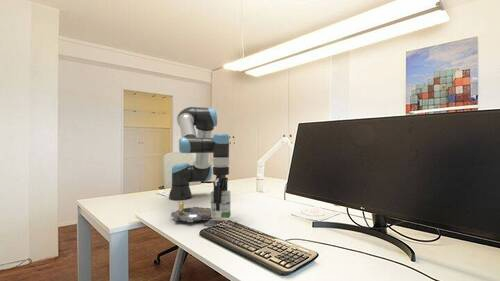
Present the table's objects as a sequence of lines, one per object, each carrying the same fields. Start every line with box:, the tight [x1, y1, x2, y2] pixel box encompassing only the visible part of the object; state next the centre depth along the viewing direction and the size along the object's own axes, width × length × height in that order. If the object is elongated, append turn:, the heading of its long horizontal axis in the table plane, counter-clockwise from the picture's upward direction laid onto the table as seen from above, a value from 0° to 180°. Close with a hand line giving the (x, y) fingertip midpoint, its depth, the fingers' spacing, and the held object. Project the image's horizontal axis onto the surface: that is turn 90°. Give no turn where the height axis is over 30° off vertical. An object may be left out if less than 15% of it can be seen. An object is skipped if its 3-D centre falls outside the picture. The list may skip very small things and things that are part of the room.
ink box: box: [210, 190, 232, 219], centre depth 120 cm, size 9×5×12 cm, turn 84°
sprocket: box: [170, 201, 212, 223], centre depth 128 cm, size 21×21×8 cm
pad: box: [203, 218, 237, 227], centre depth 120 cm, size 9×13×1 cm
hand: (220, 215), depth 120 cm, fingers closed on ink box, 5 cm apart
